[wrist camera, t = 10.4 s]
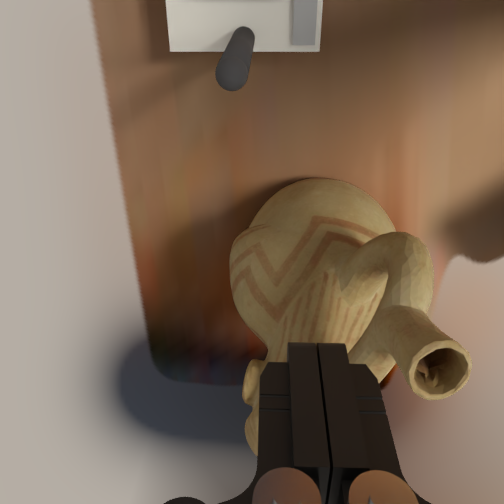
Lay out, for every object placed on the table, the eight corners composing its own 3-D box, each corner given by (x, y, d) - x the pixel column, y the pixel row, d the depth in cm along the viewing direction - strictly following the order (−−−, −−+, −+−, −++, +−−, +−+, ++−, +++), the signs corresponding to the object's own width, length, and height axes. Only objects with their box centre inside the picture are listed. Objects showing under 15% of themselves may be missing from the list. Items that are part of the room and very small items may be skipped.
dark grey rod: (232, 24, 33) (212, 59, 22) (255, 25, 33) (247, 59, 22) (233, 49, 34) (214, 94, 23) (255, 49, 34) (247, 94, 23)
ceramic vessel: (200, 278, 49) (147, 519, 28) (287, 107, 40) (306, 278, 18) (341, 333, 53) (389, 586, 31) (452, 189, 43) (629, 412, 22)
